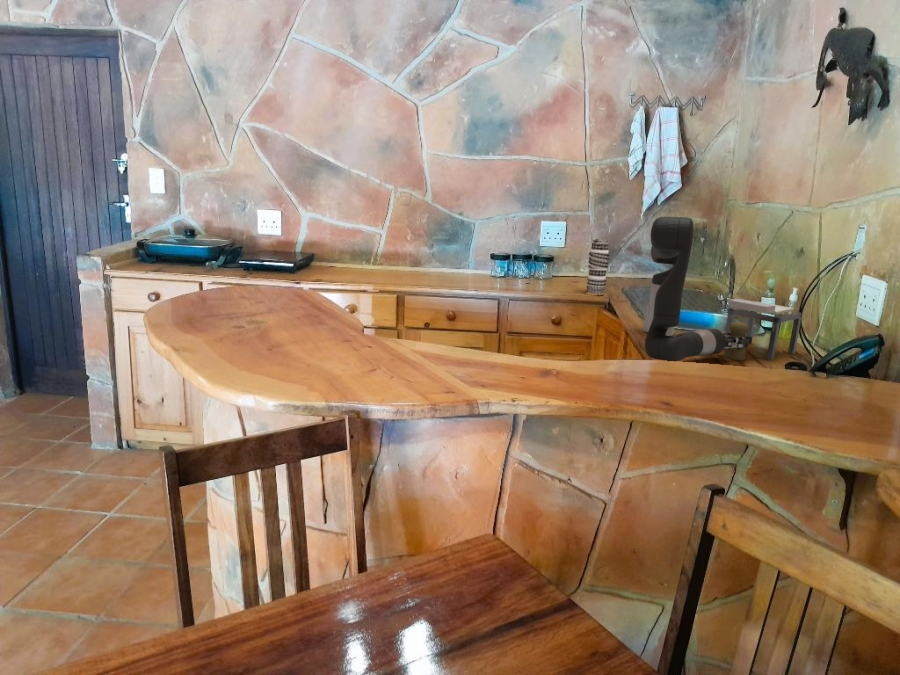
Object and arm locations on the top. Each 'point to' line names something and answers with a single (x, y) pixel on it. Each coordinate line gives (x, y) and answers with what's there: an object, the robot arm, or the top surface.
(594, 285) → the striped stacked cylinder
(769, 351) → the grey miniature table
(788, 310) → the trapdoor
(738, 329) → the cork
